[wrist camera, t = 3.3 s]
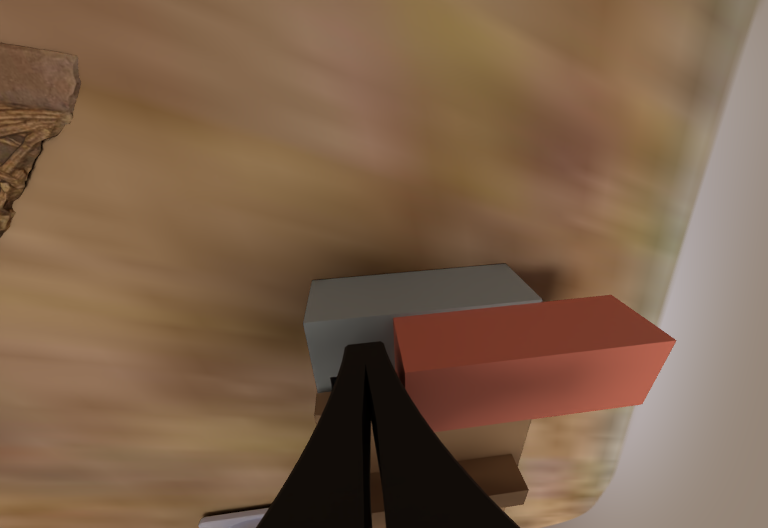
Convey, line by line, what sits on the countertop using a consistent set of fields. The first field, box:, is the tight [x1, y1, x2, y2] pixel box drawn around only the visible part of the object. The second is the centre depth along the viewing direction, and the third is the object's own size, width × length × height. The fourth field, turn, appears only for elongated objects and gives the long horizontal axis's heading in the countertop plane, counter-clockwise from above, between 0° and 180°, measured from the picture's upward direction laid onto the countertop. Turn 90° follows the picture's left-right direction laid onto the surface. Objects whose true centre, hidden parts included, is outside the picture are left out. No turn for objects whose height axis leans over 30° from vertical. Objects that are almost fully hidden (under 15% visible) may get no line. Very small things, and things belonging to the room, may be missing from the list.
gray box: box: [303, 264, 543, 393], centre depth 16 cm, size 14×9×3 cm, turn 2°
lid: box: [314, 392, 532, 528], centre depth 14 cm, size 10×9×2 cm
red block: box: [393, 295, 676, 432], centre depth 11 cm, size 3×9×3 cm, turn 93°
